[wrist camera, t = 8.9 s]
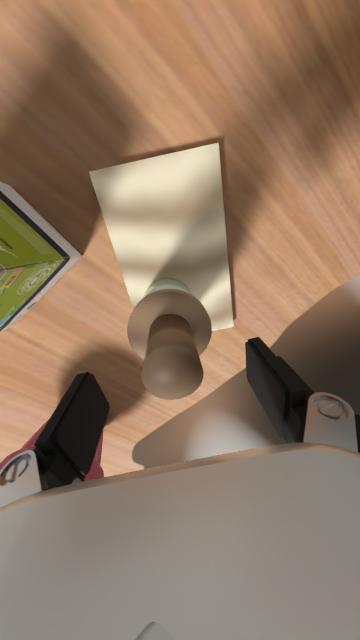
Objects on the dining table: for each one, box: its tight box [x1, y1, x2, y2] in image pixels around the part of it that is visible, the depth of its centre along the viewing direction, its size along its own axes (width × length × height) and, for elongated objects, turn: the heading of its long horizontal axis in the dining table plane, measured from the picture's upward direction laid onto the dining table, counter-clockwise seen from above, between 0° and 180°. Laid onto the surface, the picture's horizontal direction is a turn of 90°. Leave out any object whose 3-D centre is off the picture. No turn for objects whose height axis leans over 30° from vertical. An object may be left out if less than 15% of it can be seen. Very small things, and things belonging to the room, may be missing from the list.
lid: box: [127, 289, 212, 400], centre depth 15 cm, size 8×8×7 cm
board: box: [89, 143, 234, 331], centre depth 24 cm, size 22×14×1 cm, turn 11°
